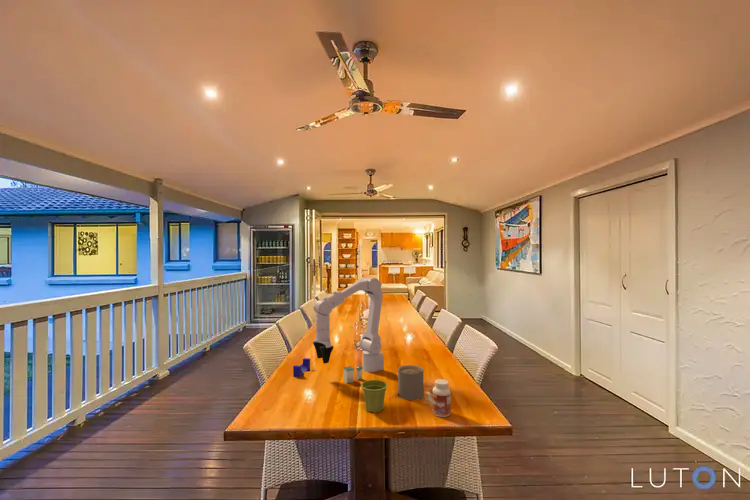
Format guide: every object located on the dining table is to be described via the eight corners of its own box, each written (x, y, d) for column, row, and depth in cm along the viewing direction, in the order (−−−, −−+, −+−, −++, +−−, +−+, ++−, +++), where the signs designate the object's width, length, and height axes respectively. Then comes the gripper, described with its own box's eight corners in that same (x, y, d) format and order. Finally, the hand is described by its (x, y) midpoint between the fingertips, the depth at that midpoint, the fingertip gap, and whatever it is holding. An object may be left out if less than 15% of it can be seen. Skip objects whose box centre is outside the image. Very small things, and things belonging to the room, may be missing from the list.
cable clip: (301, 370, 163) (301, 357, 163) (310, 371, 162) (310, 358, 162) (290, 379, 151) (290, 366, 151) (299, 380, 150) (299, 366, 150)
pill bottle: (429, 414, 119) (429, 381, 119) (438, 407, 124) (438, 376, 124) (445, 419, 115) (445, 386, 115) (453, 413, 120) (453, 381, 120)
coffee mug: (415, 402, 128) (415, 375, 128) (393, 395, 134) (393, 370, 134) (431, 390, 139) (431, 365, 139) (410, 385, 145) (410, 361, 145)
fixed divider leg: (360, 378, 150) (360, 365, 150) (363, 380, 147) (363, 367, 147) (355, 379, 148) (355, 366, 148) (357, 381, 146) (357, 368, 146)
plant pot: (367, 417, 117) (367, 391, 117) (357, 405, 125) (357, 382, 125) (391, 412, 120) (391, 387, 120) (380, 401, 129) (380, 378, 129)
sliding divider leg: (350, 379, 148) (350, 366, 148) (353, 382, 145) (353, 368, 145) (343, 380, 146) (343, 367, 146) (346, 383, 143) (346, 369, 143)
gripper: (308, 326, 151) (308, 357, 151) (319, 333, 139) (319, 366, 139) (324, 324, 155) (324, 354, 155) (335, 331, 142) (335, 364, 142)
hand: (322, 360), depth 147 cm, fingers open, 7 cm apart
